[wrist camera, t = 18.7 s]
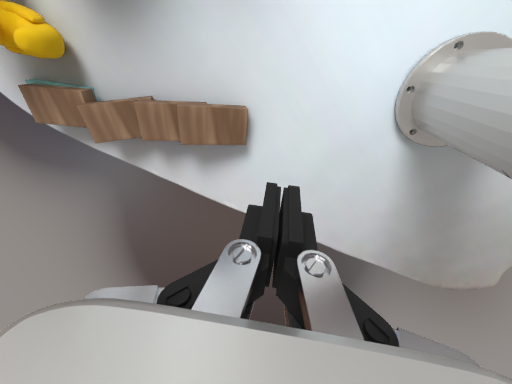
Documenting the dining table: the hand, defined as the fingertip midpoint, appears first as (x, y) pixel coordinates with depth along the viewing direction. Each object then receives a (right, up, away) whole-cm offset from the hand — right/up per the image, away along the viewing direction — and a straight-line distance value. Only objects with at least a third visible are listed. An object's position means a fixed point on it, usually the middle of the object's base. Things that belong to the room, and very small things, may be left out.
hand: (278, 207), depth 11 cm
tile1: (-3, +10, +20) cm, 22 cm away
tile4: (-25, +13, +19) cm, 34 cm away
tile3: (-16, +12, +20) cm, 28 cm away
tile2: (-8, +11, +20) cm, 24 cm away
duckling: (-30, +22, +17) cm, 41 cm away
